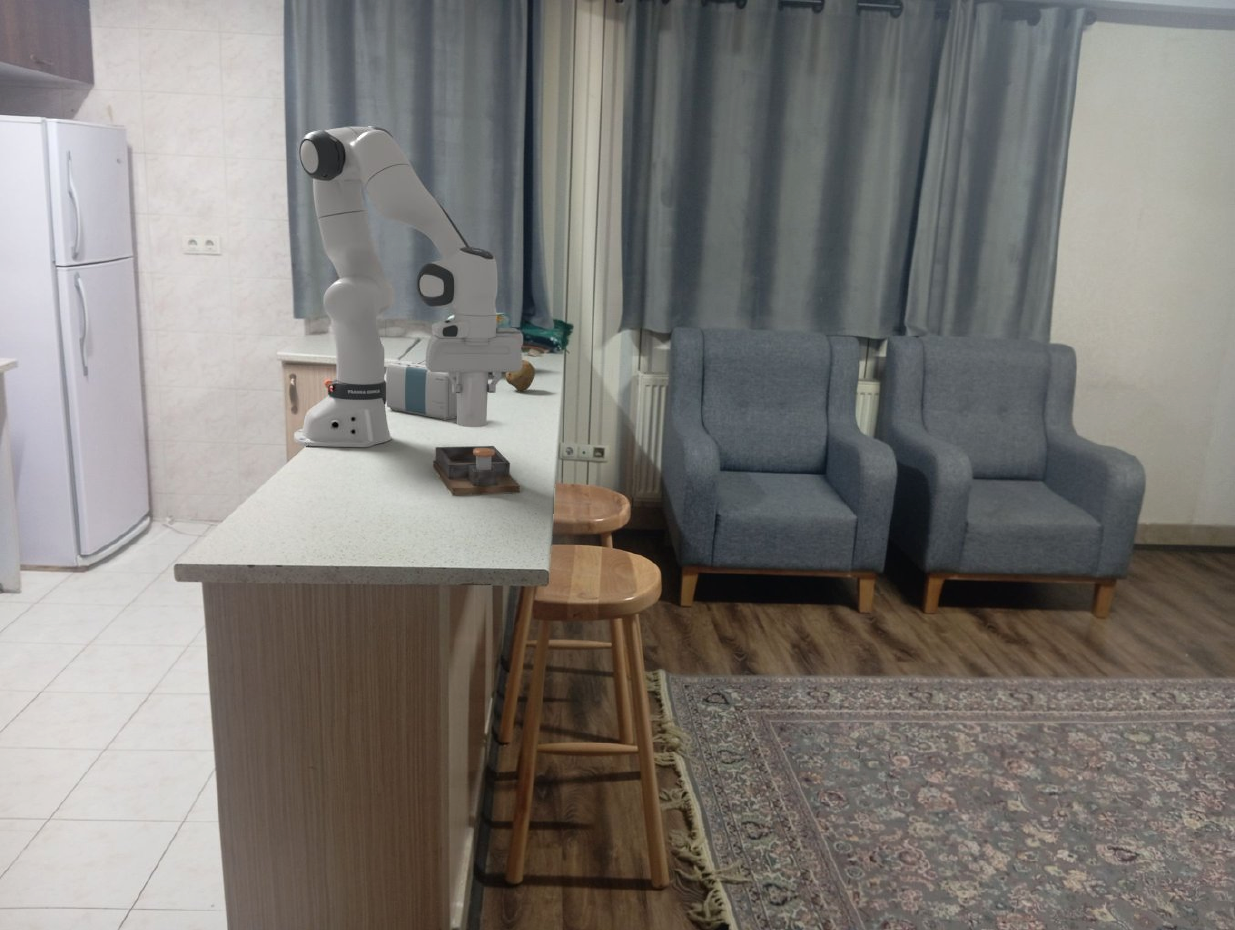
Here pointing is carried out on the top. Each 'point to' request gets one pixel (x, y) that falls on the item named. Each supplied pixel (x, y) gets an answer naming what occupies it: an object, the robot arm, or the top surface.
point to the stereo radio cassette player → (420, 390)
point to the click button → (483, 458)
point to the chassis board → (473, 472)
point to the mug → (472, 399)
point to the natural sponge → (521, 376)
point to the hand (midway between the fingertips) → (473, 392)
